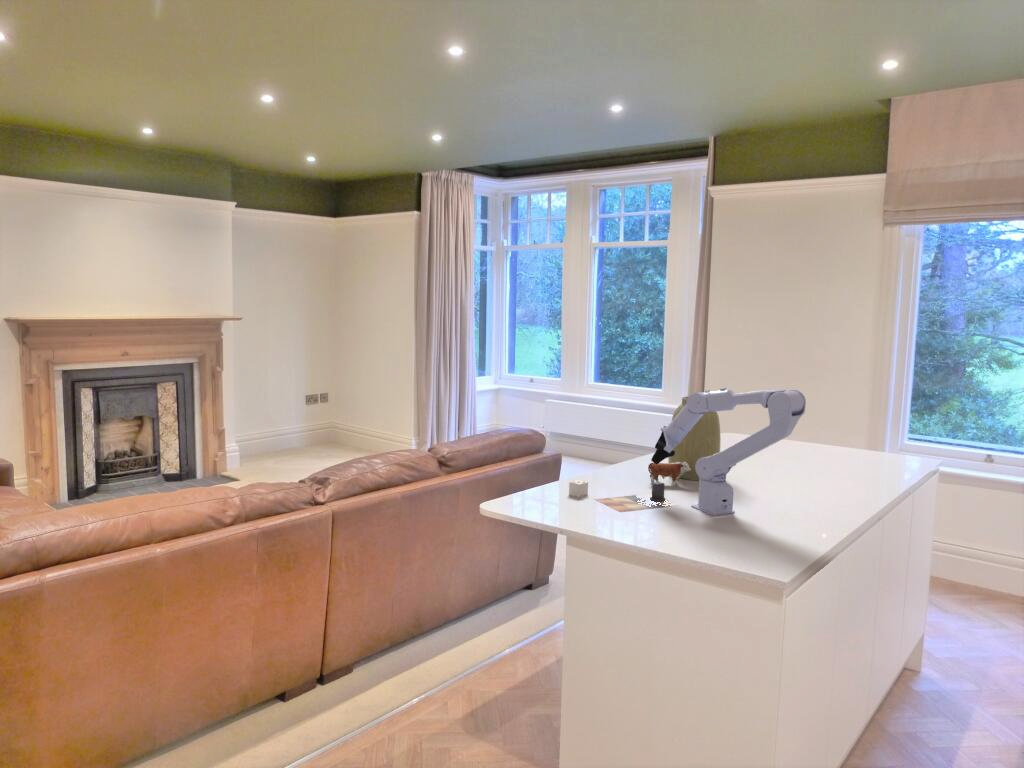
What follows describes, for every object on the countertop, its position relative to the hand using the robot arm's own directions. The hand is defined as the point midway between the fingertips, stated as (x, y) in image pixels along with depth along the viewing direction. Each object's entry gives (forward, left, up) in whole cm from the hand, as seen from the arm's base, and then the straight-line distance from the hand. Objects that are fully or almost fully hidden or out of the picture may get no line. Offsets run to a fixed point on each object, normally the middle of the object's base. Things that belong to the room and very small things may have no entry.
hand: (655, 455), depth 213 cm
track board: (-5, +10, -13) cm, 17 cm away
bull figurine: (+10, -13, -13) cm, 21 cm away
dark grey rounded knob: (-5, +2, -12) cm, 14 cm away
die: (+9, +21, -13) cm, 26 cm away
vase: (+18, -29, -13) cm, 36 cm away
